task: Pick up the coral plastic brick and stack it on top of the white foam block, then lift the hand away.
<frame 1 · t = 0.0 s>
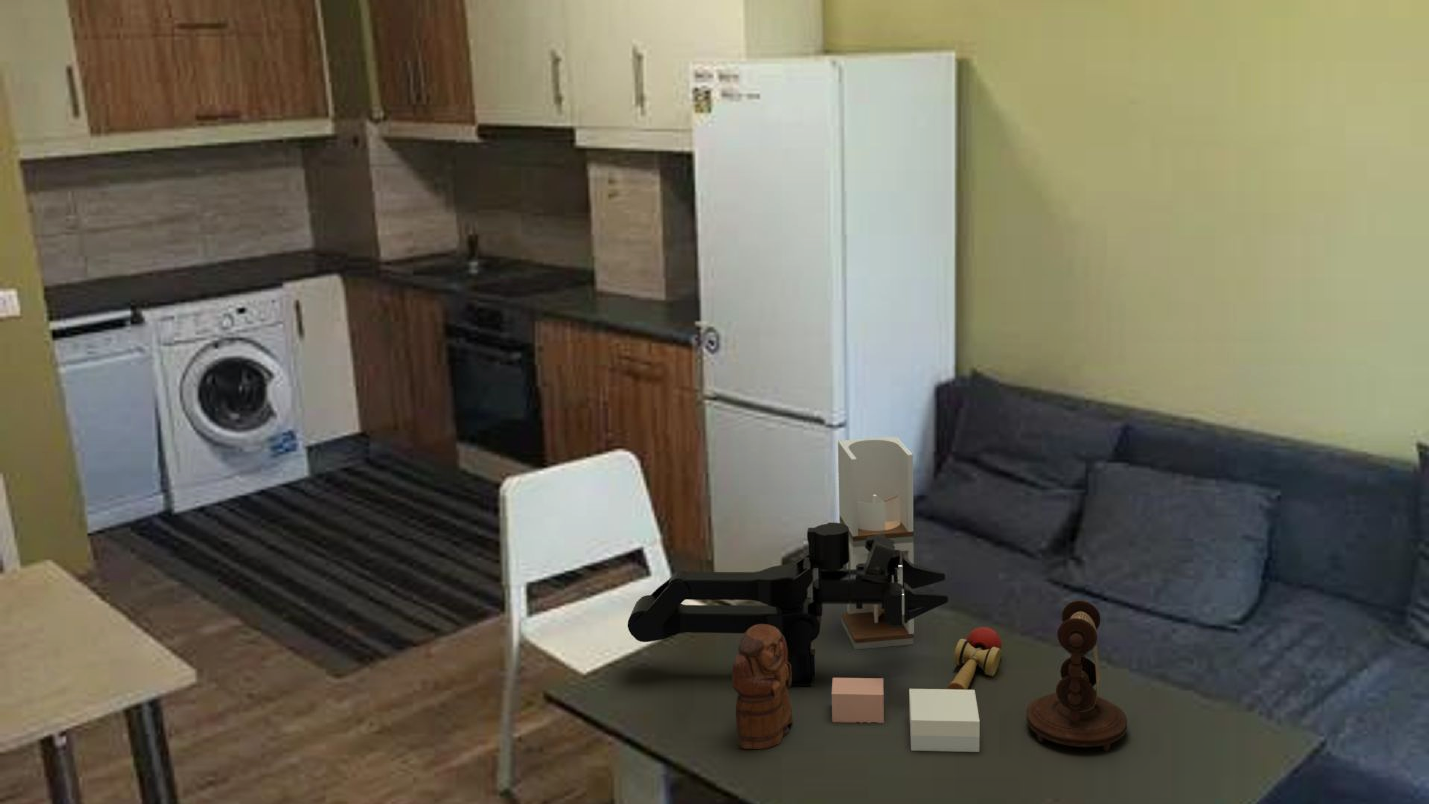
hand: (946, 587, 209), 17 cm above the table, tool horizontal, fingers open, 9 cm apart
wooden figurine: (766, 735, 199), on the table
white foam block: (943, 734, 196), on the table
kendama: (973, 677, 215), on the table
coral brick: (858, 714, 204), on the table
brown upright round-based piece: (1075, 732, 196), on the table
white shelf stand: (876, 634, 232), on the table
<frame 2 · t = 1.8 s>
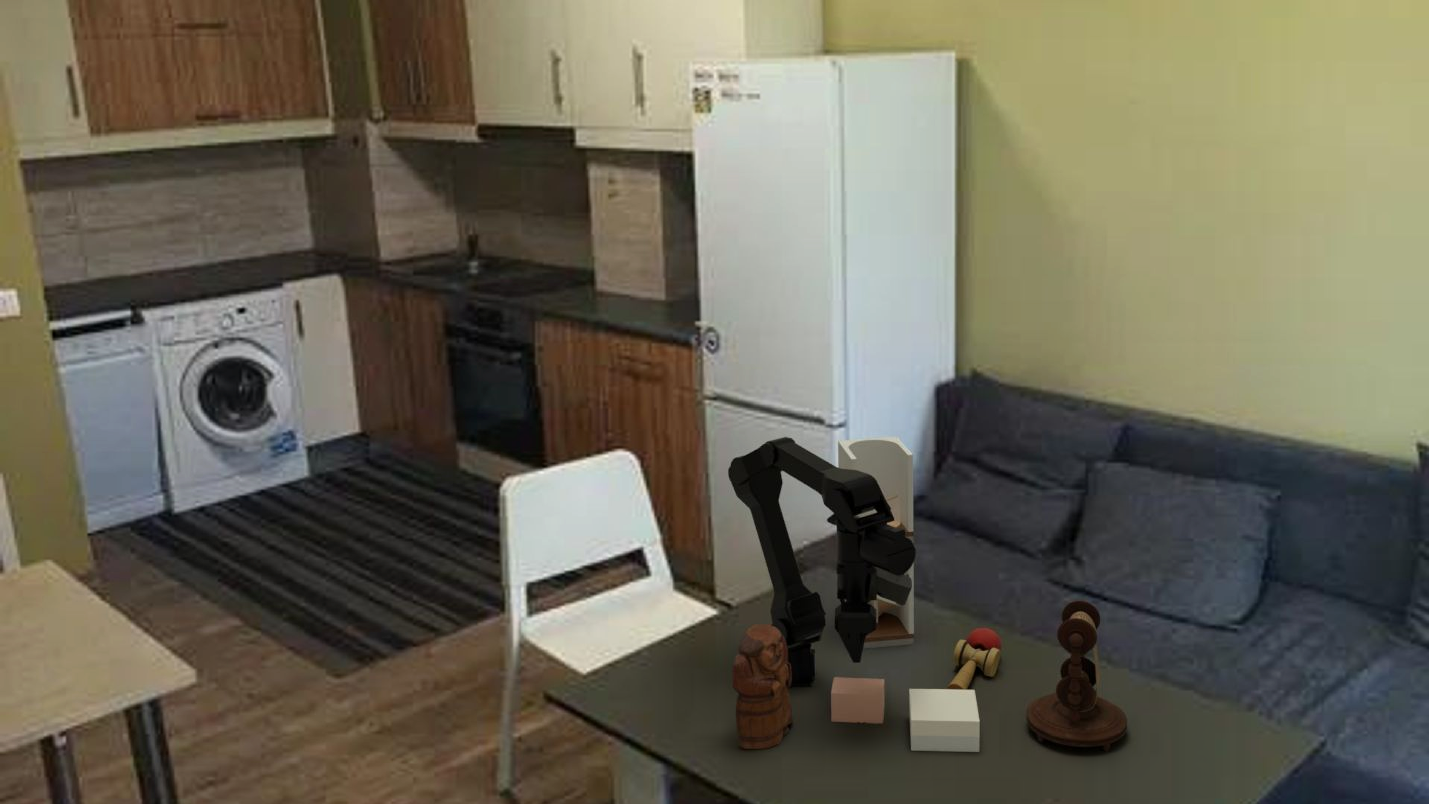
hand: (856, 649, 201), 11 cm above the table, tool pointing down, fingers open, 9 cm apart
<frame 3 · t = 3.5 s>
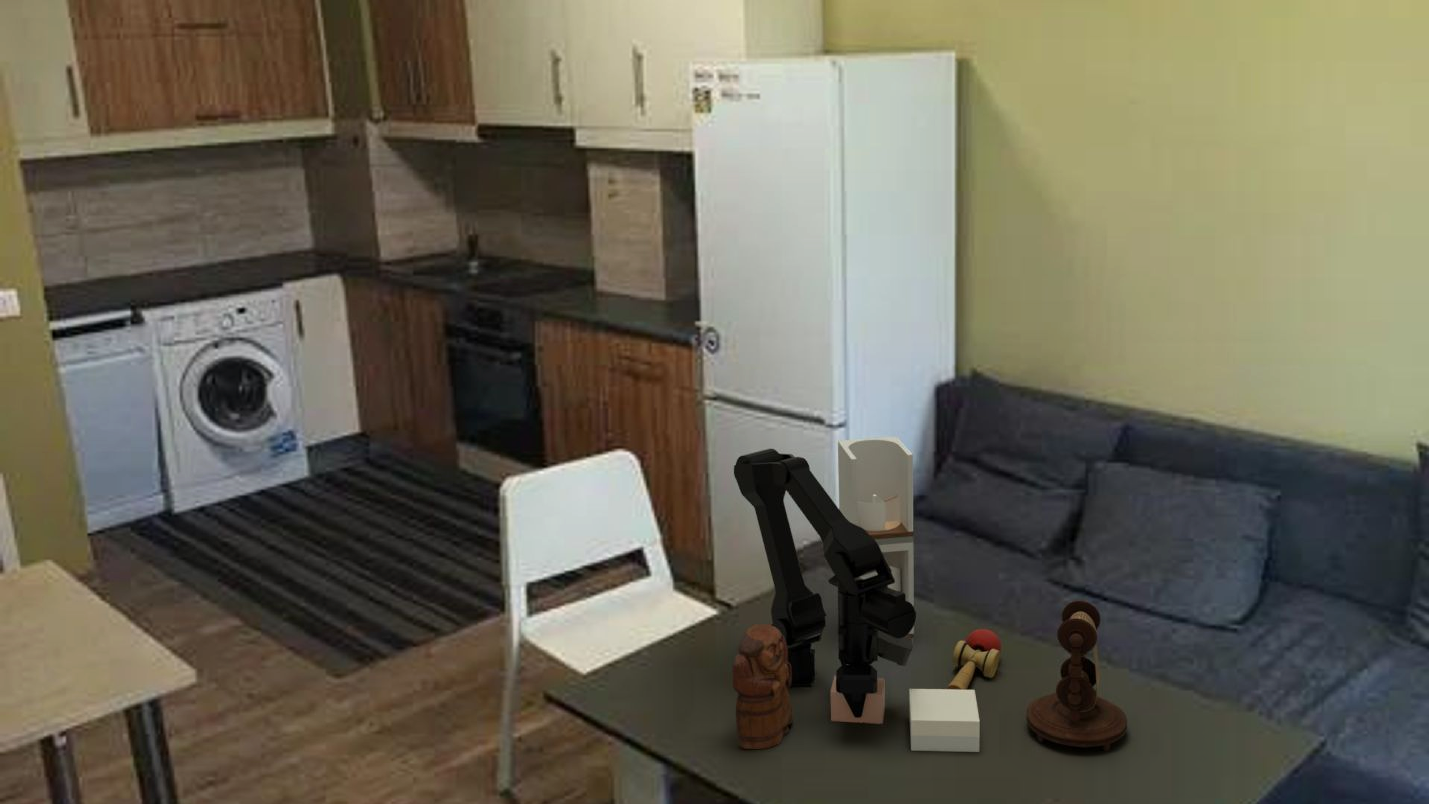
hand: (858, 707, 204), 1 cm above the table, tool pointing down, fingers closed on coral brick, 6 cm apart
coral brick: (858, 713, 204), on the table, touching gripper
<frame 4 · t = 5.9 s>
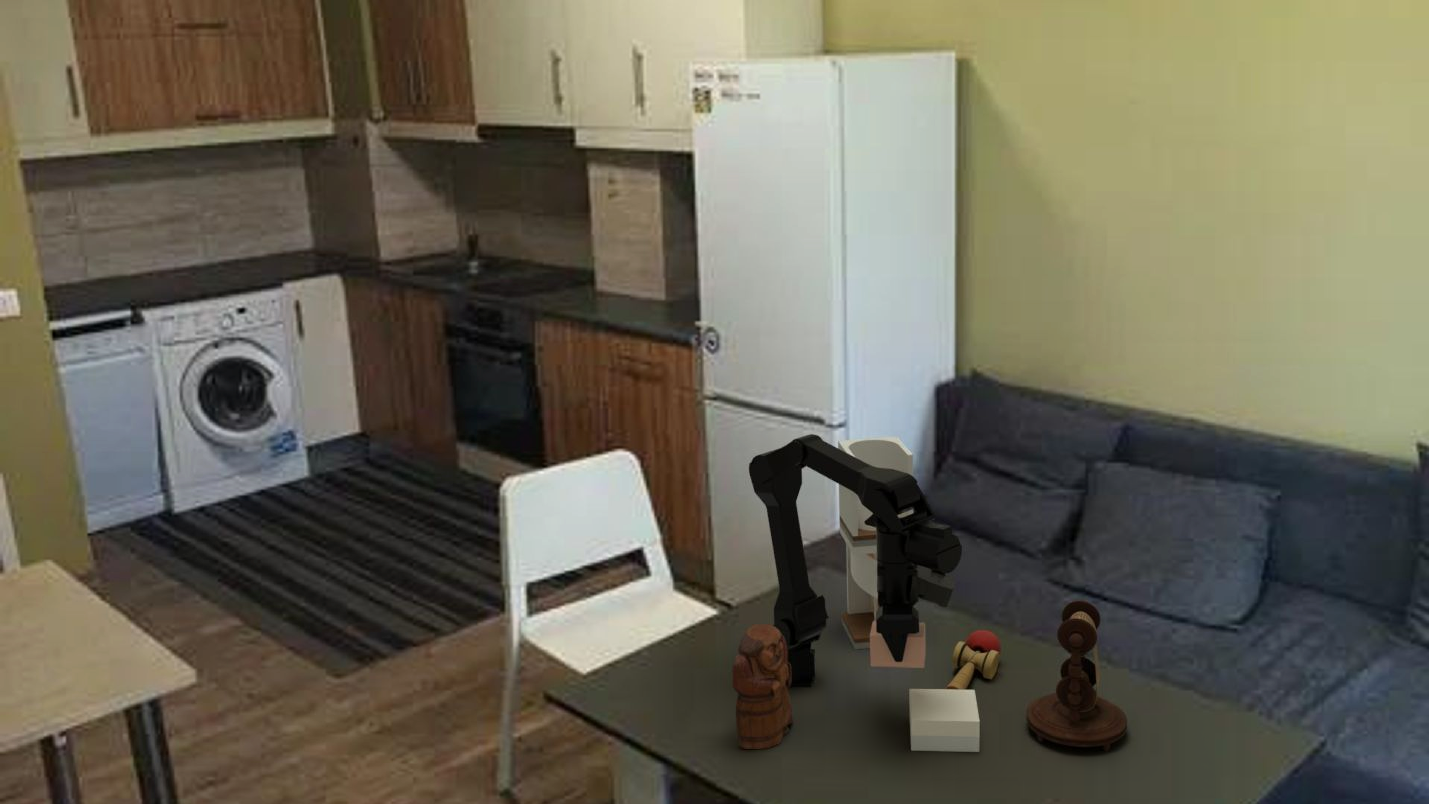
hand: (898, 653, 197), 12 cm above the table, tool pointing down, fingers closed on coral brick, 6 cm apart
coral brick: (898, 659, 197), point 11 cm above the table, touching gripper
when the fingers open (7 cm above the table, at t = 8.1 s): coral brick drops 1 cm, resting on white foam block.
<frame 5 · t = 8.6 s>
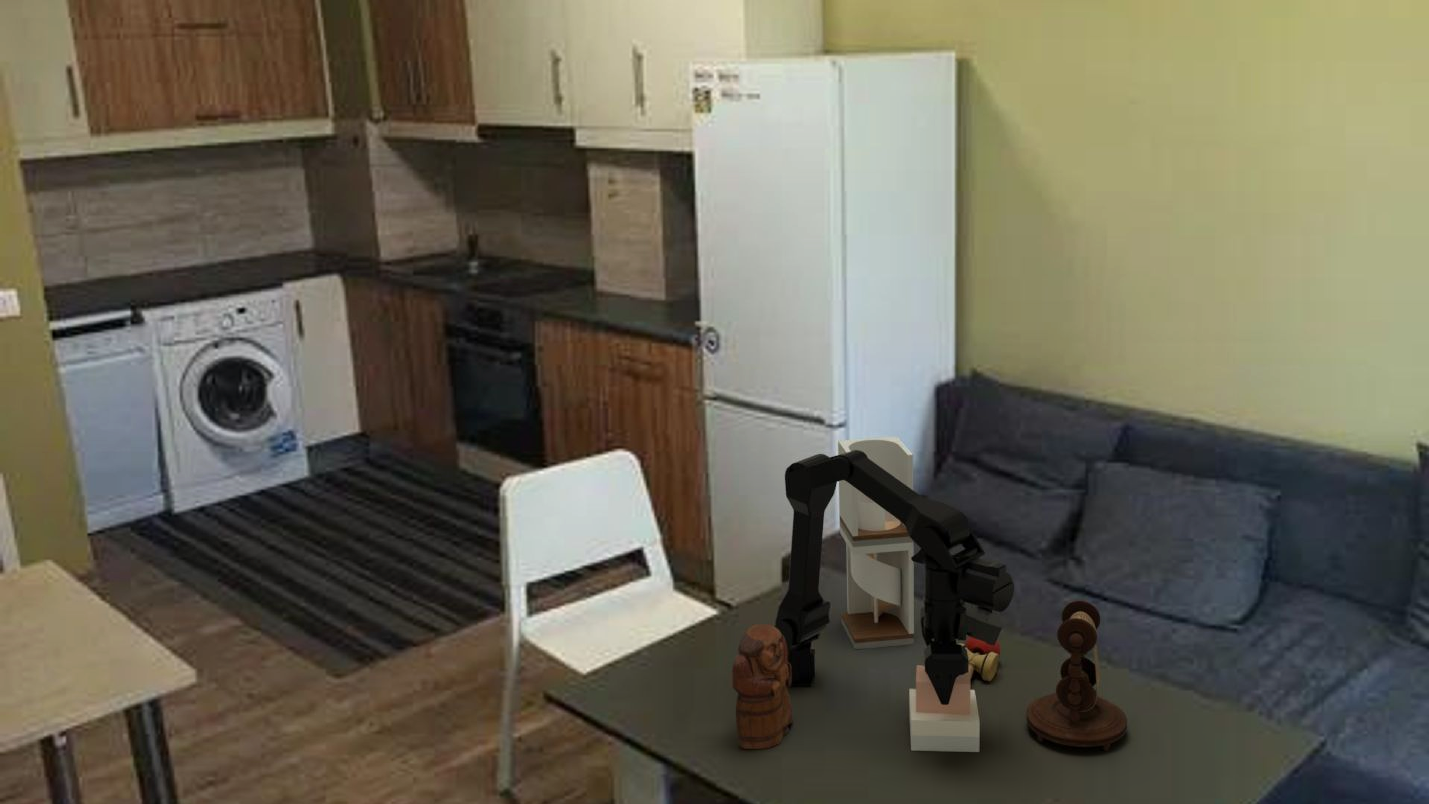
hand: (943, 689, 195), 7 cm above the table, tool pointing down, fingers open, 9 cm apart
coral brick: (943, 704, 195), point 5 cm above the table, touching white foam block
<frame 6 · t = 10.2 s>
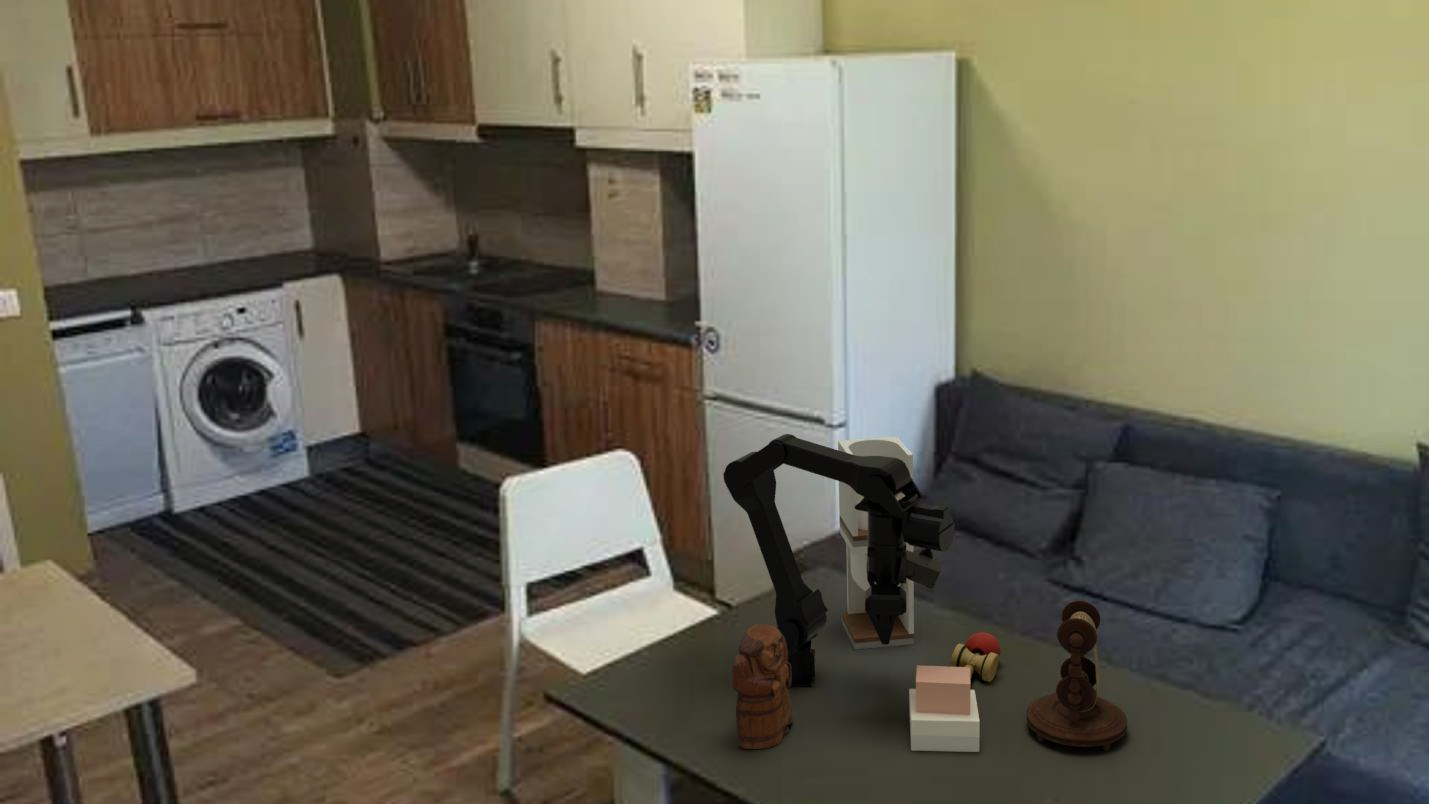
hand: (885, 631, 204), 12 cm above the table, tool pointing down, fingers open, 9 cm apart
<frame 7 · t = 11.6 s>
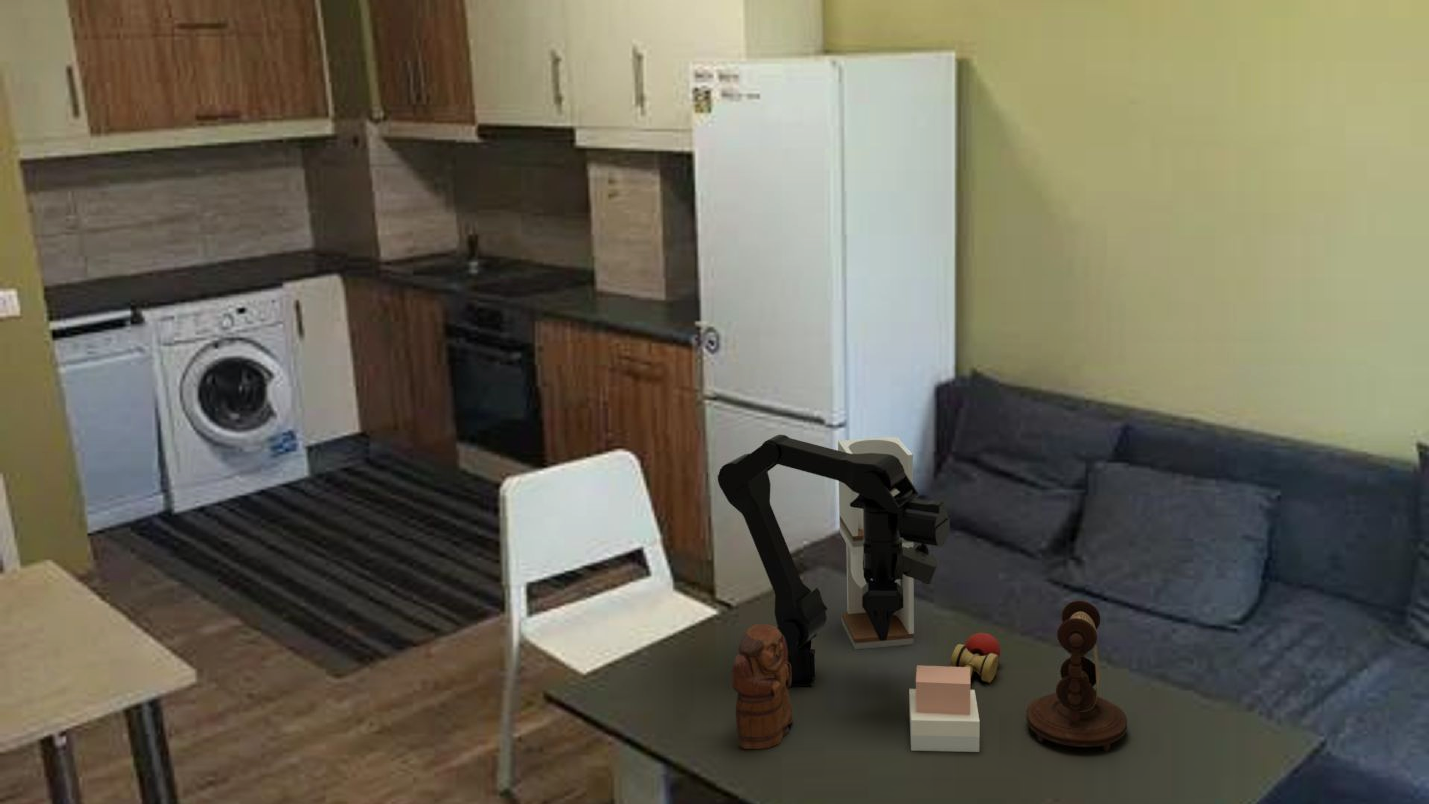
hand: (882, 627, 205), 13 cm above the table, tool pointing down, fingers open, 9 cm apart
at the end: coral brick 0.0 cm off-centre on the white foam block, point 5.0 cm above the white foam block's base; coral brick tilted 0°; the gripper is holding nothing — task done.
